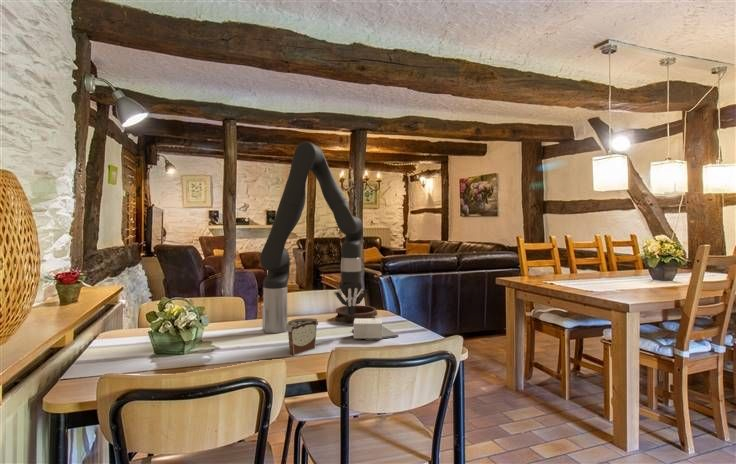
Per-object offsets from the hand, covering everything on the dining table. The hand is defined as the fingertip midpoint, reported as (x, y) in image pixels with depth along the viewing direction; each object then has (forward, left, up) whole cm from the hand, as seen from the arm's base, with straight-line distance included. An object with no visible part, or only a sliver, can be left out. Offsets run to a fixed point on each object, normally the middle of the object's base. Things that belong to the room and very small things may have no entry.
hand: (350, 315), depth 158 cm
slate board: (+10, 0, -8) cm, 13 cm away
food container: (-22, -8, -8) cm, 25 cm away
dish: (+12, +24, -8) cm, 28 cm away
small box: (0, -1, -4) cm, 5 cm away
